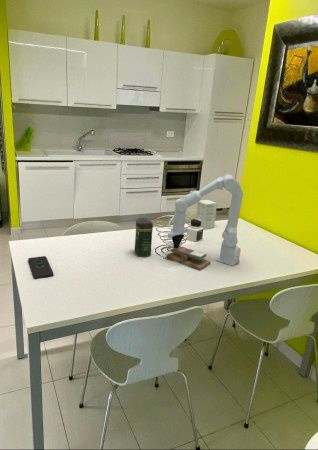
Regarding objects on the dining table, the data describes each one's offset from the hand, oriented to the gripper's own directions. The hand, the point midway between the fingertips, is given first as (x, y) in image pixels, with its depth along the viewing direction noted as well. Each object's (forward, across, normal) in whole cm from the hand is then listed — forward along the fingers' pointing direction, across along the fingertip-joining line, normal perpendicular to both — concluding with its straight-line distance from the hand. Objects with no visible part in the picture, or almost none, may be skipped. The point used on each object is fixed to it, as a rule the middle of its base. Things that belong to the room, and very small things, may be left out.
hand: (176, 247), depth 174 cm
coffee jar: (+6, +9, -14) cm, 18 cm away
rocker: (+1, 0, +8) cm, 8 cm away
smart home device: (+7, +55, -36) cm, 66 cm away
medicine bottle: (+5, -29, -6) cm, 30 cm away
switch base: (+5, 0, +8) cm, 9 cm away
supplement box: (+5, -54, -14) cm, 56 cm away
